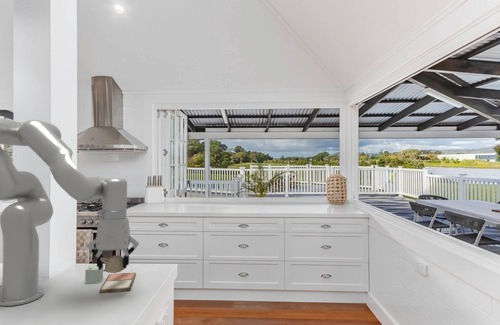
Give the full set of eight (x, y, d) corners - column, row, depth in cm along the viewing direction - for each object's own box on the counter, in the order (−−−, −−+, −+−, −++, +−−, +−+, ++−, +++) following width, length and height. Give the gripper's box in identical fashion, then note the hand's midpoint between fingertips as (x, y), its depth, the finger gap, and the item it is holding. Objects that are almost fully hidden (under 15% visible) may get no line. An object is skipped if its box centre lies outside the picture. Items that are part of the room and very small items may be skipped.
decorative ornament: (127, 270, 105) (127, 255, 105) (100, 275, 100) (101, 259, 100) (124, 267, 108) (124, 252, 108) (98, 272, 103) (98, 255, 103)
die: (85, 283, 114) (85, 270, 114) (88, 278, 119) (89, 265, 119) (99, 282, 115) (100, 269, 115) (102, 278, 120) (103, 264, 120)
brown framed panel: (99, 293, 106) (99, 289, 106) (109, 276, 121) (109, 273, 121) (130, 291, 108) (130, 287, 108) (135, 275, 124) (135, 272, 124)
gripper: (82, 217, 99) (81, 273, 98) (140, 216, 103) (138, 270, 102) (89, 213, 106) (88, 265, 106) (142, 212, 110) (141, 263, 110)
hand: (113, 267), depth 104 cm, fingers closed on decorative ornament, 7 cm apart
